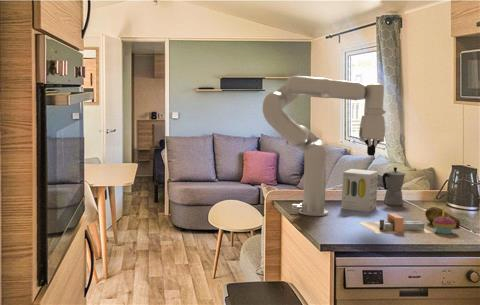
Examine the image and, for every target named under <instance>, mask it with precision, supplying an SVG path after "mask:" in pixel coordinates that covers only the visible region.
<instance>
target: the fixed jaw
mask: <svg viewBox="0 0 480 305" xmlns="http://www.w3.org/2000/svg"><path fill="white" fill-rule="evenodd" d="M379 222H380V226H379V229H380V230H384V231H394V228H395V223H384V222H385V220H384V219H380V220H379ZM424 228H425V223H424V222H422V223H403V231H424Z"/></svg>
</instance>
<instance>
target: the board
mask: <svg viewBox="0 0 480 305" xmlns="http://www.w3.org/2000/svg"><path fill="white" fill-rule="evenodd" d="M384 223H386V221H384ZM358 224H360V225H361V226H363V227H364V228H366V229H367V230H369V231H371V232H372V233H374V234H375V235H378V234H380V235H381V234H433V232H432V231H430V230H429V229H427V228H425V227H424V231H403V232H395V231H384V230H380V229H379V226H380V221H359V222H358Z"/></svg>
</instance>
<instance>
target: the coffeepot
mask: <svg viewBox="0 0 480 305" xmlns="http://www.w3.org/2000/svg"><path fill="white" fill-rule="evenodd" d="M397 169H398V167H395V166H394V167H393V170H390V171H387V172H384V173H383V174H382V175H381V179H382V184H383V189H384V190H386V191H385V195H384V198H383V203H384V204H386V205H389V206H402V205H403V204H404V200H403V199H404V198H403V191H402V188H403V185H404V180H405V176H406V174H405V173H404V172H401V171H397Z"/></svg>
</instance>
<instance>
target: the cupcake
mask: <svg viewBox="0 0 480 305" xmlns="http://www.w3.org/2000/svg"><path fill="white" fill-rule="evenodd" d="M441 209H442V217H437V218H435V219H434V220H433V223H431V224H432V226H433V227H434V230H435V232H436V233H439V234H443V235H447V234H448V235H449V234H451V233H452V231H453V230H454V229H456V228H457V227H456V222H455V221H454V220H453V219H451V218H448V217H444V211H445V205H444V203H442V208H441Z"/></svg>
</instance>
